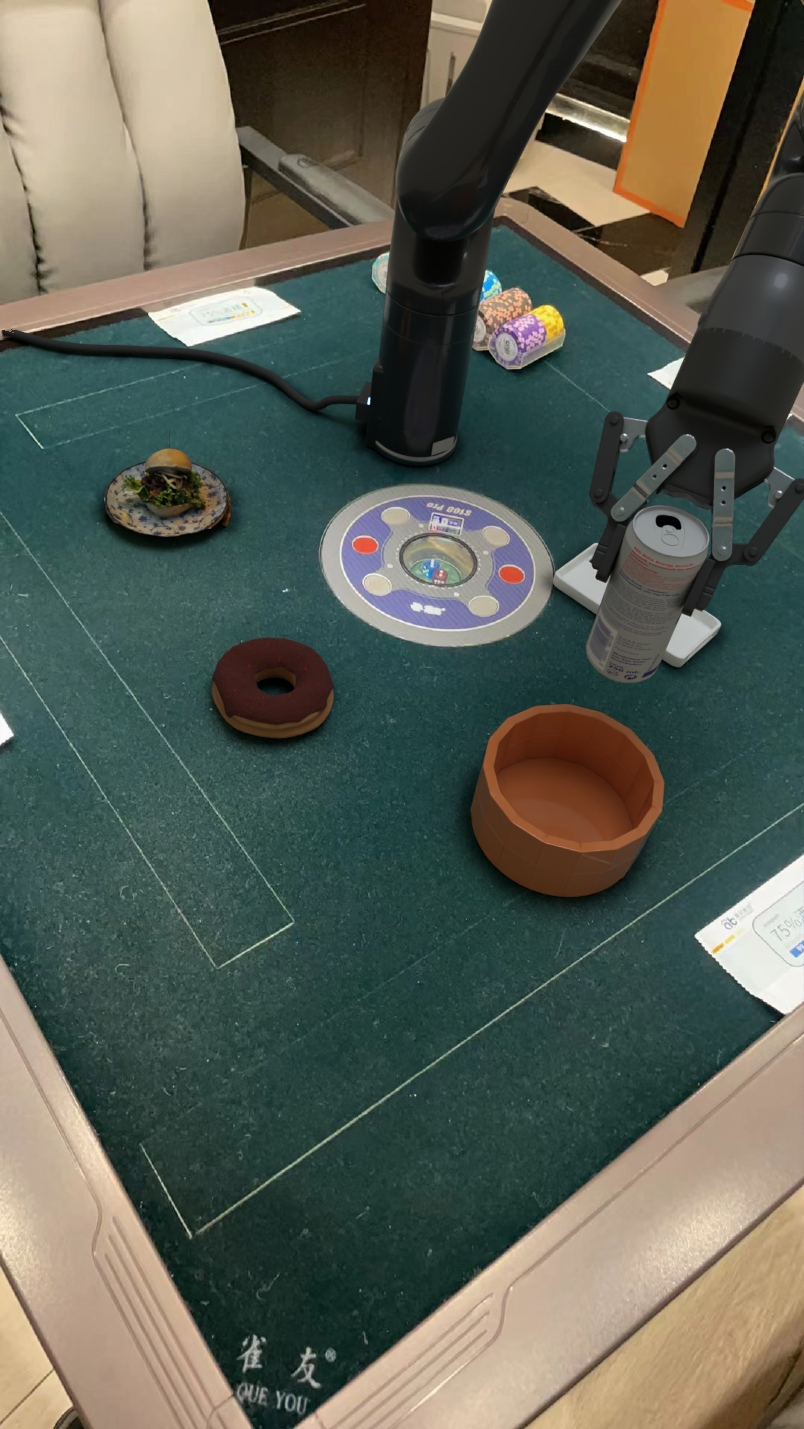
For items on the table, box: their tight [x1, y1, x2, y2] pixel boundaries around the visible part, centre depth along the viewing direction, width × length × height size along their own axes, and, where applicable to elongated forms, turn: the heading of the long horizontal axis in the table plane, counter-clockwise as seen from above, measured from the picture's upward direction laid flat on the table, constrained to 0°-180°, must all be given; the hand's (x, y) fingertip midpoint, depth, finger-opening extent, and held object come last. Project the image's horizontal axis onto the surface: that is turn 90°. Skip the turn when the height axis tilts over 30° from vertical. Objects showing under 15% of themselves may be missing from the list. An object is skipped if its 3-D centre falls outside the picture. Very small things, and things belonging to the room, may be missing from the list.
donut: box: [211, 637, 335, 739], centre depth 87 cm, size 10×10×4 cm
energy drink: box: [585, 504, 710, 684], centre depth 71 cm, size 5×5×12 cm
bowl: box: [470, 703, 665, 898], centre depth 81 cm, size 14×14×6 cm
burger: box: [103, 428, 232, 538], centre depth 100 cm, size 12×12×8 cm
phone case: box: [552, 542, 722, 668], centre depth 100 cm, size 7×1×15 cm
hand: (643, 596), depth 69 cm, fingers closed on energy drink, 5 cm apart
